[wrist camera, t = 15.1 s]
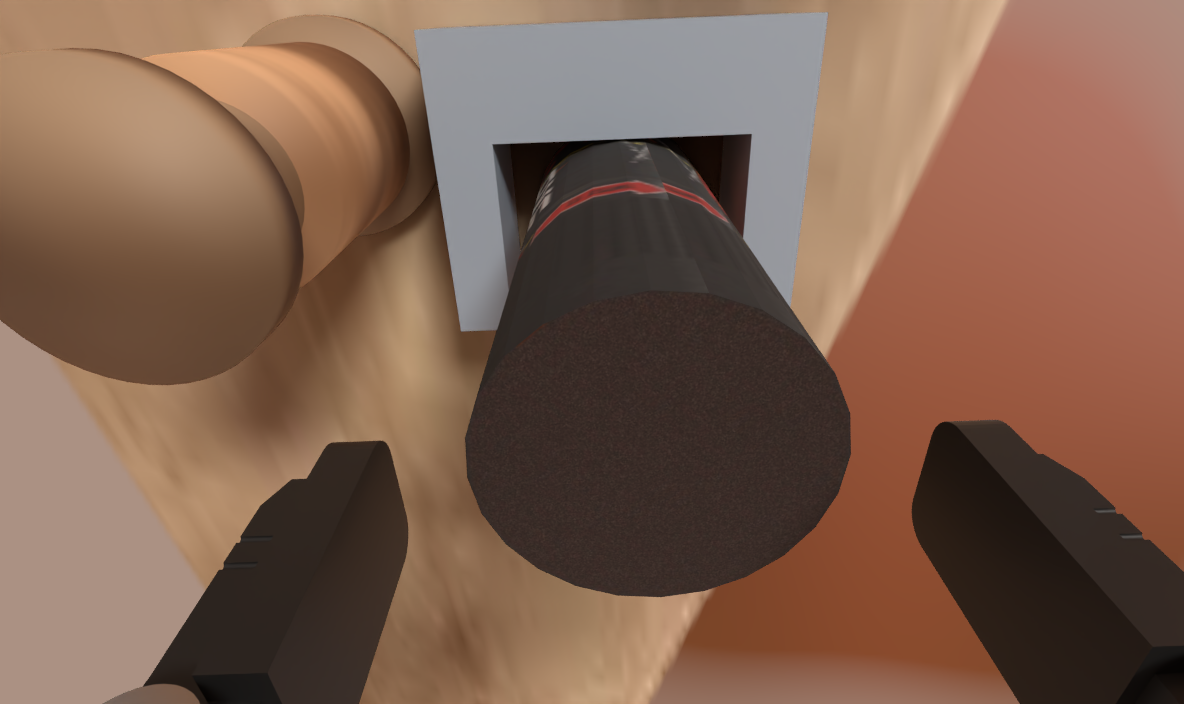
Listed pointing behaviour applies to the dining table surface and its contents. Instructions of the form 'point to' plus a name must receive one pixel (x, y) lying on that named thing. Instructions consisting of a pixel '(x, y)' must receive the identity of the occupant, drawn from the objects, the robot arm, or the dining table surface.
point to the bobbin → (197, 189)
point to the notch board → (618, 122)
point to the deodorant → (649, 387)
